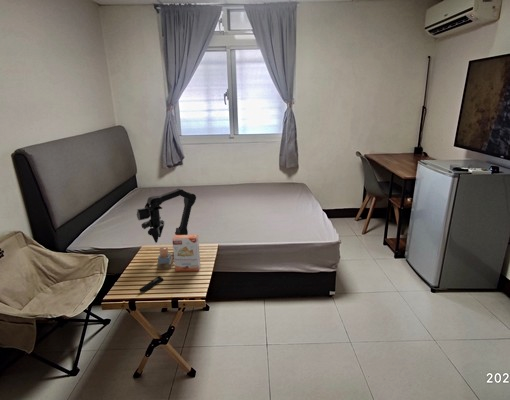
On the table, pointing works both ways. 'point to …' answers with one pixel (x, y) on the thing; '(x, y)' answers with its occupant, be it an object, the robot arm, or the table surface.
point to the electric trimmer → (151, 284)
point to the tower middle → (164, 259)
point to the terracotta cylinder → (164, 252)
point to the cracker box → (186, 252)
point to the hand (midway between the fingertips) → (158, 239)
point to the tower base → (165, 265)
